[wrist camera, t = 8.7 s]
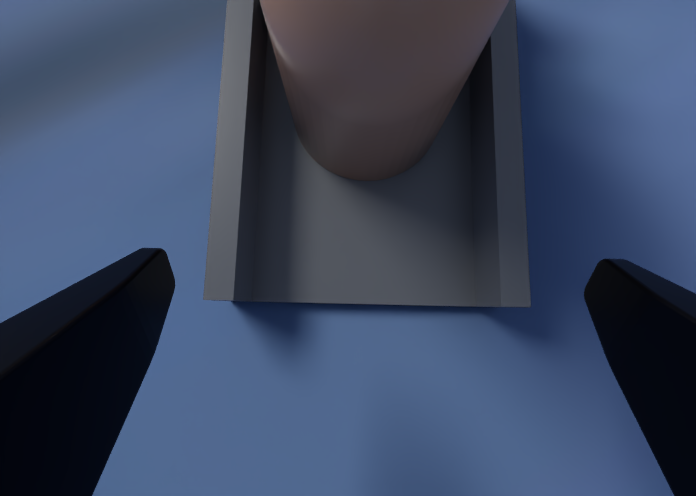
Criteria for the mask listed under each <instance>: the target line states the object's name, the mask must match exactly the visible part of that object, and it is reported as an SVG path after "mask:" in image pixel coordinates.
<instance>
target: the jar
mask: <svg viewBox="0 0 696 496" xmlns="http://www.w3.org/2000/svg"><path fill="white" fill-rule="evenodd" d="M508 2H509V0H260V4H261V7H262V11H263V14H264V18H265V22H266V25H267V29H268V32H269V36H270V40H271V43H272V47H273V50H274V54H275V58H276V61H277V65H278V68H279V72H280V76H281V79H282V83H283V86H284V90H285V94H286V97H287V101H288V104H289V108H290V111H291V115H292V119H293V122H294V126H295V129H296V132H297V135H298V137H299V140H300V142H301V144H302V145H303V147H304V148H305V150H306V151H307V153H308V154H309V155H310V156H311V157H312V158H313V159H314V160H315V161H316V162H317V163H318V164H319V165H321V166H322V167H324V168H325V169H327V170H328V171H330V172H332V173H334V174H336V175H339V176H342V177H345V178H348V179H353V180H360V181H376V180H382V179H387V178H390V177H393V176H396V175H398V174H400V173H403V172H405V171H406V170H408V169H409V168H411V167H412V166H414V165H415V164H416V163H417V162H418V161H420V160H421V158H422V157H423V156H424V155H425V154H426V153H427V151H428V150H429V148H430V147H431V145H432V143H433V142H434V140H435V138H436V136H437V134H438V132H439V130H440V129H441V127H442V125H443V123H444V121H445V119H446V117H447V116H448V114H449V112H450V110H451V108H452V106H453V104H454V102H455V101H456V99H457V97H458V95H459V93H460V91H461V89H462V88H463V86H464V84H465V82H466V80H467V78H468V76H469V75H470V73H471V71H472V69H473V67H474V65H475V63H476V62H477V60H478V58H479V56H480V54H481V52H482V50H483V48H484V47H485V45H486V43H487V41H488V39H489V37H490V35H491V34H492V32H493V30H494V28H495V26H496V24H497V22H498V21H499V19H500V17H501V15H502V13H503V11H504V9H505V7H506V6H507V4H508Z"/></svg>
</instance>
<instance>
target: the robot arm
mask: <svg viewBox="0 0 696 496" xmlns="http://www.w3.org/2000/svg"><path fill="white" fill-rule="evenodd" d="M174 289H175V279H174V275H173V272H172V269H171V266H170V263H169V260H168V257H167V254H166V252H165V251H164V250H163V249H161V248H141V249H139V250H137V251H135V252H133V253H131V254H130V255H128V256H126V257H124V258H122V259H120V260H118V261H116V262H114V263H113V264H111V265H109V266H107V267H105V268H103V269H101V270H99V271H98V272H96V273H94V274H92V275H90V276H88V277H86V278H84V279H83V280H81V281H79V282H77V283H75V284H73V285H71V286H69V287H68V288H66V289H64V290H62V291H60V292H58V293H56V294H54V295H52V296H51V297H49V298H47V299H45V300H43V301H41V302H39V303H37V304H36V305H34V306H32V307H30V308H28V309H26V310H24V311H22V312H21V313H19V314H17V315H15V316H13V317H11V318H9V319H7V320H6V321H4V322H2V323H0V496H92V495H93V492H94V490H95V488H96V486H97V483H98V481H99V479H100V476H101V474H102V472H103V470H104V467H105V465H106V463H107V461H108V458H109V456H110V454H111V452H112V449H113V447H114V445H115V443H116V440H117V438H118V436H119V433H120V431H121V429H122V427H123V424H124V422H125V420H126V418H127V415H128V413H129V411H130V409H131V406H132V404H133V402H134V399H135V397H136V395H137V393H138V390H139V388H140V386H141V384H142V381H143V379H144V377H145V375H146V372H147V370H148V368H149V365H150V363H151V361H152V358H153V356H154V353H155V350H156V347H157V345H158V342H159V338H160V335H161V332H162V329H163V325H164V322H165V319H166V316H167V312H168V309H169V306H170V303H171V299H172V296H173V293H174ZM584 298H585V302H586V304H587V307H588V310H589V312H590V315H591V318H592V321H593V323H594V326H595V329H596V331H597V334H598V337H599V339H600V342H601V345H602V348H603V350H604V353H605V355H606V358H607V360H608V363H609V365H610V367H611V369H612V372H613V374H614V376H615V378H616V380H617V382H618V384H619V386H620V388H621V390H622V392H623V394H624V396H625V398H626V400H627V402H628V404H629V406H630V408H631V410H632V412H633V414H634V416H635V418H636V420H637V422H638V424H639V426H640V428H641V430H642V432H643V434H644V436H645V438H646V440H647V442H648V444H649V446H650V448H651V450H652V452H653V454H654V456H655V458H656V460H657V462H658V464H659V466H660V468H661V470H662V472H663V474H664V476H665V478H666V480H667V482H668V484H669V486H670V488H671V490H672V492H673V494H674V496H696V294H695V293H693V292H691V291H689V290H687V289H685V288H683V287H681V286H679V285H677V284H675V283H673V282H670V281H668V280H666V279H664V278H662V277H660V276H658V275H656V274H654V273H652V272H650V271H648V270H646V269H644V268H642V267H640V266H638V265H636V264H634V263H632V262H629V261H627V260H624V259H603V260H601V261H600V262H599V263H598V264H597V266H596V268H595V270H594V272H593V273H592V275H591V277H590V279H589V281H588V283H587V285H586V287H585V291H584Z"/></svg>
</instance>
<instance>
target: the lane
mask: <svg viewBox="0 0 696 496" xmlns="http://www.w3.org/2000/svg"><path fill="white" fill-rule="evenodd" d="M203 300H219V301H249V302H293V303H337V304H380V305H424V306H468V307H531V298H530V278H529V258H528V239H527V219H526V199H525V180H524V160H523V141H522V121H521V101H520V82H519V62H518V42H517V23H516V3H515V0H509V2H508V4H507V6H506V7H505V9H504V11H503V13H502V15H501V17H500V19H499V21H498V22H497V24H496V26H495V28H494V30H493V32H492V34H491V35H490V37H489V39H488V41H487V43H486V45H485V47H484V48H483V50H482V52H481V54H480V56H479V58H478V60H477V62H476V63H475V65H474V67H473V69H472V71H471V73H470V75H469V76H468V78H467V80H466V82H465V84H464V86H463V88H462V89H461V91H460V93H459V95H458V97H457V99H456V101H455V102H454V104H453V106H452V108H451V110H450V112H449V114H448V116H447V117H446V119H445V121H444V123H443V125H442V127H441V129H440V130H439V132H438V134H437V136H436V138H435V140H434V142H433V143H432V145H431V147H430V148H429V150H428V151H427V153H426V154H425V155H424V156H423V157H422V158H421V160H420V161H418V162H417V163H416V164H415V165H414V166H412V167H411V168H409V169H408V170H406V171H405V172H403V173H400V174H398V175H396V176H393V177H390V178H387V179H382V180H376V181H360V180H353V179H348V178H345V177H342V176H339V175H336V174H334V173H332V172H330V171H328V170H327V169H325V168H324V167H322V166H321V165H319V164H318V163H317V162H316V161H315V160H314V159H313V158H312V157H311V156H310V155H309V154H308V153H307V151H306V150H305V148H304V147H303V145H302V144H301V142H300V140H299V137H298V135H297V132H296V129H295V126H294V122H293V119H292V115H291V111H290V108H289V104H288V101H287V97H286V94H285V90H284V86H283V83H282V79H281V76H280V72H279V68H278V65H277V61H276V58H275V54H274V50H273V47H272V43H271V40H270V36H269V32H268V29H267V25H266V22H265V18H264V14H263V11H262V7H261V4H260V0H227V11H226V23H225V36H224V48H223V60H222V73H221V85H220V98H219V110H218V123H217V135H216V147H215V160H214V172H213V185H212V197H211V210H210V222H209V235H208V247H207V259H206V272H205V284H204V297H203Z"/></svg>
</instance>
